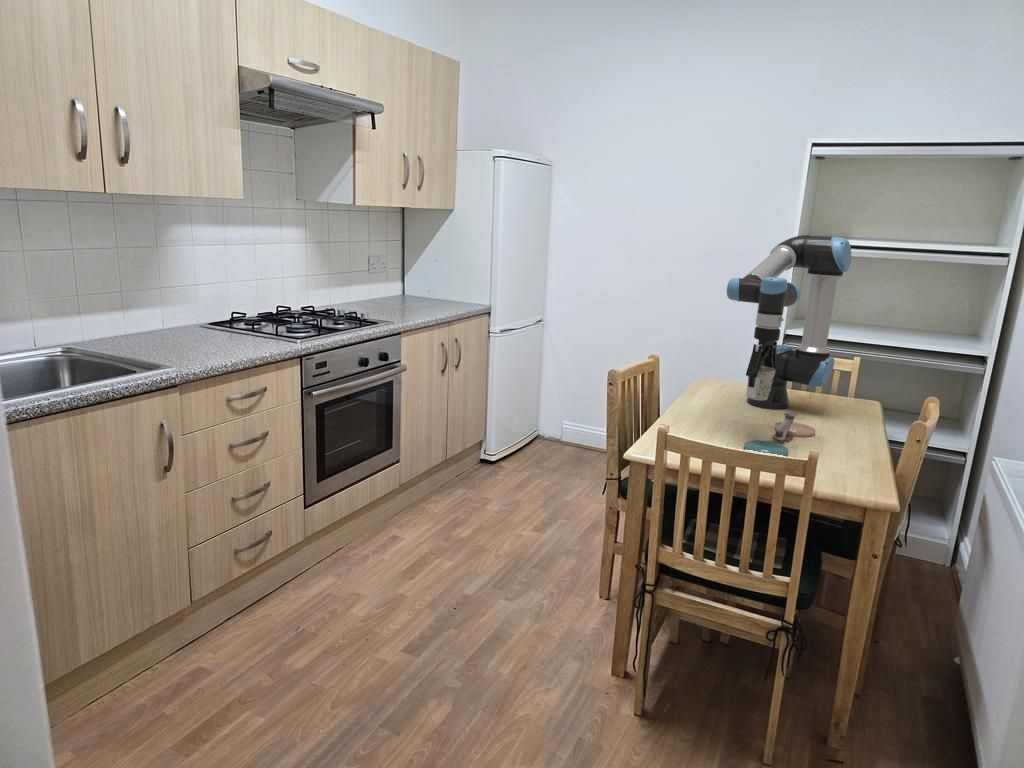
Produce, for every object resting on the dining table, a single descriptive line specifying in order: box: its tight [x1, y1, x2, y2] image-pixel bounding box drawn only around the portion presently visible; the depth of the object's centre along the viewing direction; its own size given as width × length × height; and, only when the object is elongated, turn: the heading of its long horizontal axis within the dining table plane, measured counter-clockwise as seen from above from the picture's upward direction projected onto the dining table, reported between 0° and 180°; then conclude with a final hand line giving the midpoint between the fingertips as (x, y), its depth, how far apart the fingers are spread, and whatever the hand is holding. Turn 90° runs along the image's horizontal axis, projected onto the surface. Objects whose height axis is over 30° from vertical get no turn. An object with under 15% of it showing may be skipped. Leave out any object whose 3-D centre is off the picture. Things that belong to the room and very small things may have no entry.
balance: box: [771, 410, 798, 443], centre depth 227 cm, size 5×13×8 cm, turn 141°
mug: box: [747, 366, 775, 401], centre depth 221 cm, size 8×13×10 cm, turn 159°
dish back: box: [773, 421, 816, 438], centre depth 237 cm, size 13×13×1 cm
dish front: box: [743, 439, 789, 457], centre depth 215 cm, size 13×13×1 cm
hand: (758, 393), depth 222 cm, fingers closed on mug, 12 cm apart
